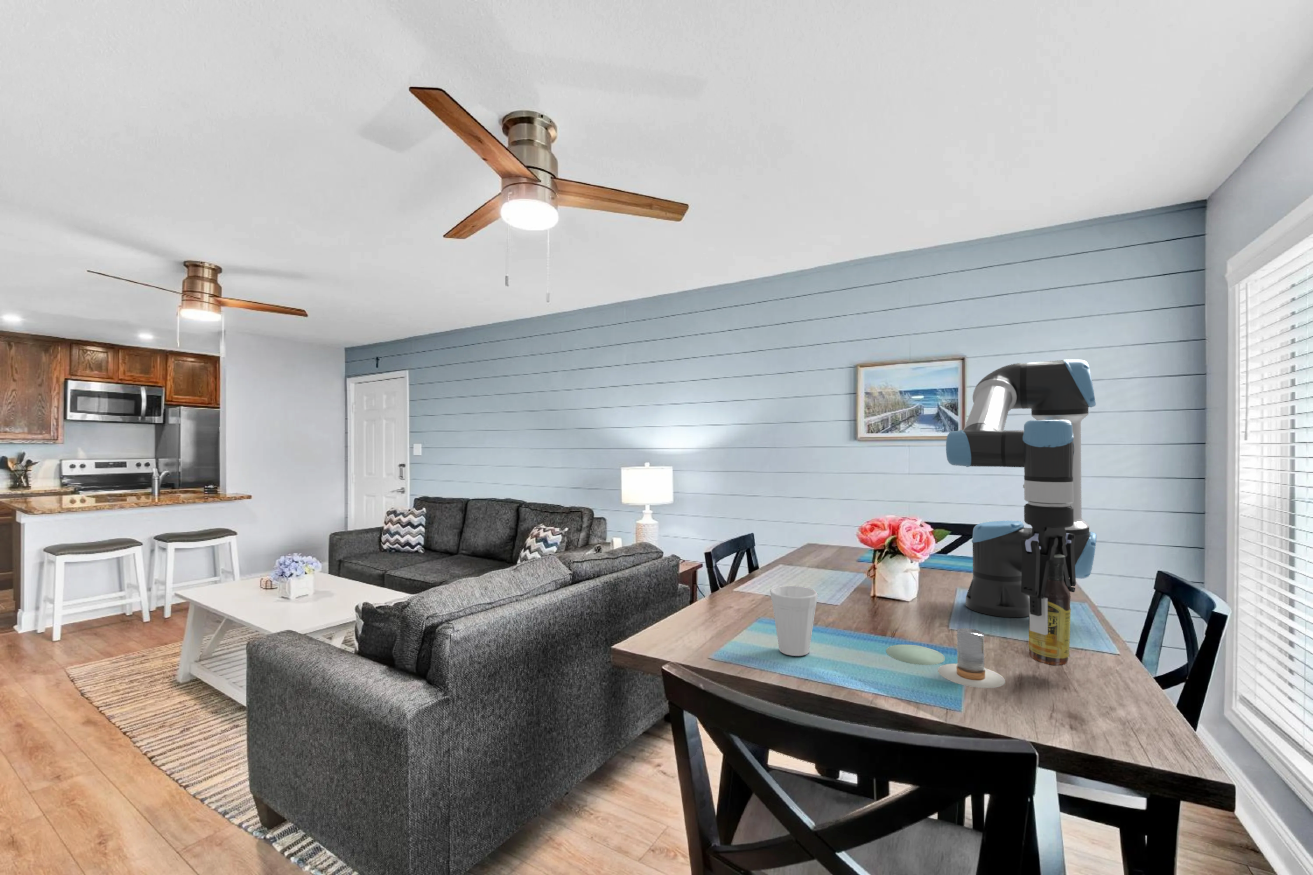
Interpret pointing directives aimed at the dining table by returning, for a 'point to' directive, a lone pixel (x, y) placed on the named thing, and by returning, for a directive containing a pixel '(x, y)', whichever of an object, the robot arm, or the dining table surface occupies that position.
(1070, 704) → the dining table surface
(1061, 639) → the sauce bottle
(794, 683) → the dining table surface
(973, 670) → the glass jar
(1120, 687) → the dining table surface
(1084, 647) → the dining table surface
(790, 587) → the cup
